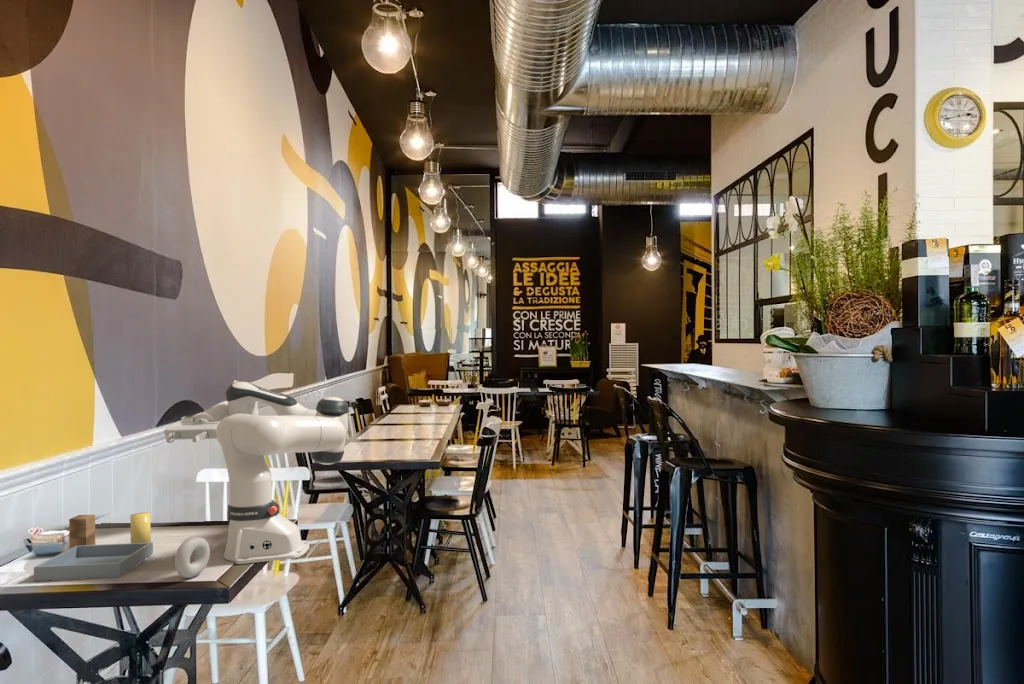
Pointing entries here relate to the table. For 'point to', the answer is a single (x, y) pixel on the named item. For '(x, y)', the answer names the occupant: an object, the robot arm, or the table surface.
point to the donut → (185, 552)
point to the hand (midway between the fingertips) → (181, 440)
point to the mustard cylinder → (140, 528)
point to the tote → (93, 561)
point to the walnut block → (82, 530)
